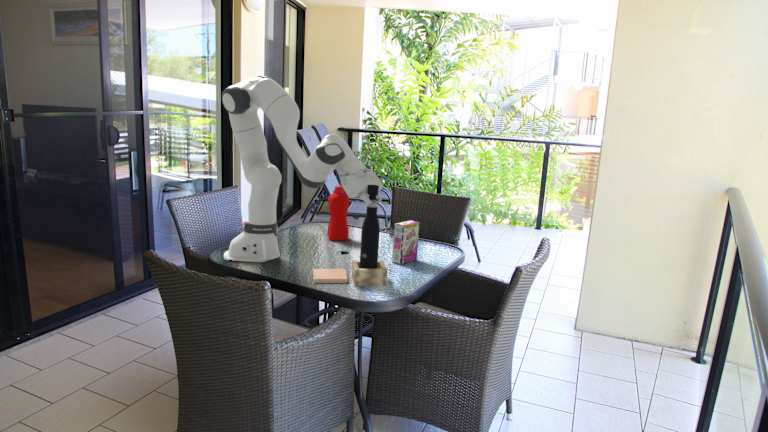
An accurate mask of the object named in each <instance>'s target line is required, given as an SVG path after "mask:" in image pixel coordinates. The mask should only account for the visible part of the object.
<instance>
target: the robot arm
mask: <svg viewBox="0 0 768 432" xmlns="http://www.w3.org/2000/svg"><path fill="white" fill-rule="evenodd" d="M221 103H222V106H223V108H224V109H225V110H226V111H227V112H228V115H229V116H228V117H229V121H230V127H231V129H232V133H233V136H234V139H235V142H236V145H237V148H238V150H239V155H240V161H241V165H242V169H243V170H242V171H243V174H244V178H245V180H246V181H247V183H249V184H250V185H251V191H250V196H249V201H248V209H247V210H248V211H247V212H248V213H247V214H248V220H244V221H243V223H242V225H243V226H242V228H243V229H242V230H243V231H242V232H241V233H239V234H238V235H237V236H235V237H234V238H233V239H231V241H230V244H229V247H228V250H226V251H225V252H224V253H223V257H224V258H223V259H224V260H225V261H229V260H232V262H233V261H234V262H252V263H253V262H254V263H265V262H267V261H272V260H275V259H278V258H280V257H281V253H280V251H279V250H280V249H279V246H278V237H277V236H278V232H279V230H278V229H279V228H278V227H279V226H278V222H277V201H278V196H279V190H280V186H281V183H282V179H283V178H282V173H281V172H280V170H279V168H278V167H277V166H276V165H274V164H272V163H271V162H270V159H269V155H268V154H269V153H268V143H267V139H266V136H265V133H264V129H263V126H262V123H261V121H260V117H259V114H258V110H259V108H260V109H261V110H262V112H263V113H264V114H265V115H266V117H267V118H268V119H269V121H270V123H271V125H272V127H273V129H274V134H275V138H276V140H277V142H278V144H279V145H280V148H281V149H282V150H283V152H284V154H285V156H286V157H287V158H288V161H289V162H290V163H291V165H292V167H293V169H294V170H295V172H296V175H297V177H298V180H299V181H300V183H301V184H302V185H303V186H305V187H306V188H309V189H320V188H322V187H323V186H324V184H325V183H326V181H327V180H328V178H329V177H330V175H331V174H332V173H333V171H334V170H336V171H337V173H338V174H339V176H338V178H339V181H340V184H341V185H340V186H342V187H343V189H344V193H345V194H346V195H347V196H348V198H351V199H352V198H356V197H357V198H360V200H362V201H363V202H365V204H366V205H367V206H368V205H370V204H371V203H372V202H373V201H372V200H371V198H369V196H367V195H368V194H367V192H368V185H378V186H379V191H378V195H376V201H375V202H377V204H378V203H381V202H382V200H383V199H382V197H381V196H380V191H381V189H383V187H384V185H383V183H382V181H381V179H380V178H379V177H378V175H377V174H376V173H375V172H374V171H373V167H372V166H371V165H370V164H367V163H365V162H362V161H361V160H360V159H359V158H358V157H357V156H356V155H355V154H354V153H353V149H351V147H350V146H349V144H348V143H347V142H346V141H345V139H344V138H342V137H341V136H340V135H338V134H337V133H329V134H327V135H326V136H323V138H322V139H321V141H320V144H318V145H317V146H316V147H315V148H314V150H313V151H312V152H311V153H310V155H309V157H307V156H306V154H305V153H304V151H303V149H302V147H301V146H300V145H299V143H298V140H297V134H298V131H297V130H298V127H299V122H300V117H301V113H300V108H299V106H298V104H297V103H296V101H295V100H294V98H293V97H292V96H291V94H289V93H288V92H287V91H286V89H285V88H283V86H282V85H280V84H279V83H278V82H276V81H275V80H274V79H273V78H271V77H270V76H266V75H259V76H256V77H253V78H252V77H251V78H247V79H243V80H242V81H240V82H238V83H236V84H232V85H229V86H227V87H226V88H224V90H223V91H222V93H221Z"/></svg>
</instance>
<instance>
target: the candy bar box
mask: <svg viewBox="0 0 768 432" xmlns="http://www.w3.org/2000/svg"><path fill="white" fill-rule="evenodd" d="M393 229H394V230H393V244H392V259H391V262H392V263H393V264H397V265H405V264H407V263H411V262H414V261H418V245H419V235H420V233H419V232H420V222H419V221H416V220H406V221H401V222H397V223H394V227H393Z"/></svg>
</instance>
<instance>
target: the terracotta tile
mask: <svg viewBox="0 0 768 432" xmlns="http://www.w3.org/2000/svg"><path fill="white" fill-rule="evenodd" d="M312 277H313V284H348V274H347V271H346V269H345V268H313V269H312Z"/></svg>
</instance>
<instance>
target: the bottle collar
mask: <svg viewBox="0 0 768 432" xmlns="http://www.w3.org/2000/svg"><path fill="white" fill-rule="evenodd" d="M351 261H352V262H351V279H352V282H353V285H354V287H387V286H388V268H387V266H386V264H385V262H384V261H383V260H378V263H377V269H362V268H360V260H351Z"/></svg>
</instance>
